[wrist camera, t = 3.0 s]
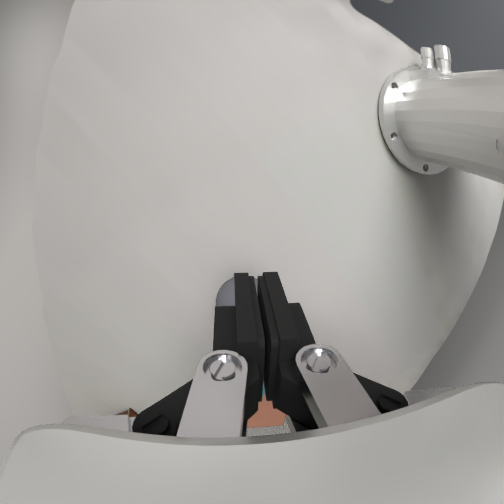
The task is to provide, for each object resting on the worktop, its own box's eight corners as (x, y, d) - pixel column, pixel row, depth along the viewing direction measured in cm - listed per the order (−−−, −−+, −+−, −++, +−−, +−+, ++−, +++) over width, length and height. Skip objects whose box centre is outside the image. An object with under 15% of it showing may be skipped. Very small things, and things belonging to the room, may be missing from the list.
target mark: (195, 382, 36) (195, 383, 36) (291, 378, 37) (291, 379, 37) (205, 427, 42) (205, 428, 41) (283, 424, 43) (283, 425, 42)
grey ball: (215, 267, 29) (212, 295, 24) (267, 265, 29) (275, 293, 24) (218, 309, 31) (216, 341, 26) (266, 308, 31) (272, 339, 26)
